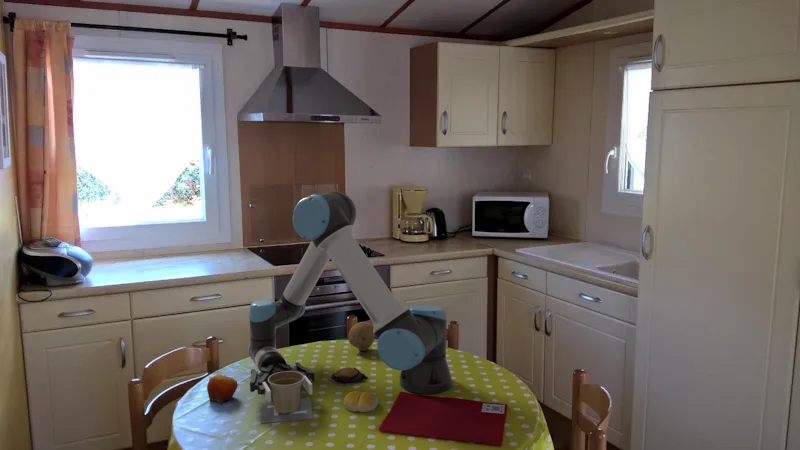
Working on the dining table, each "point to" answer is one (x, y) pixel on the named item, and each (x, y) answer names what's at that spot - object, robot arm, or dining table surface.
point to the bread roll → (360, 401)
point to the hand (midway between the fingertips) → (290, 392)
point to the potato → (361, 335)
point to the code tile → (272, 416)
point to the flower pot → (286, 390)
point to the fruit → (221, 388)
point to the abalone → (347, 376)
